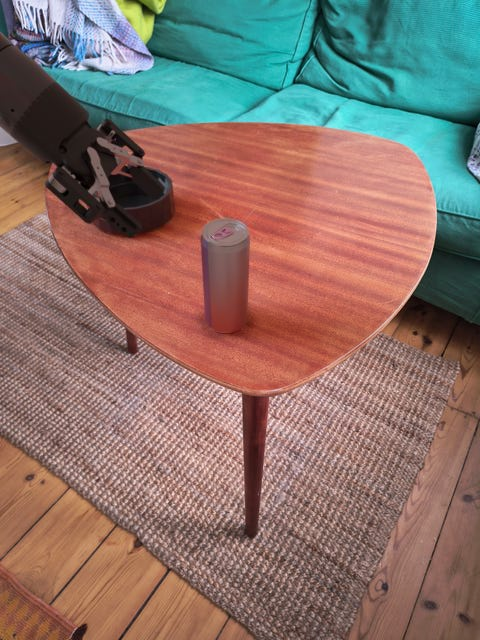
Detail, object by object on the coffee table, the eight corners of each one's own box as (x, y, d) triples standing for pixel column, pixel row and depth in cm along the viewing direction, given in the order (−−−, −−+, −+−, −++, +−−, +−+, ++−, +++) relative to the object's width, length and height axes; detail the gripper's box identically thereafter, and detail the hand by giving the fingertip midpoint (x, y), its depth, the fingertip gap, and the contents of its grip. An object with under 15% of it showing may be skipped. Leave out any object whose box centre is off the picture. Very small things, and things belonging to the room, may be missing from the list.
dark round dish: (88, 241, 79) (80, 212, 75) (93, 195, 90) (87, 168, 86) (177, 233, 81) (175, 205, 77) (172, 190, 92) (170, 163, 88)
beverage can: (196, 320, 66) (189, 231, 55) (225, 300, 69) (224, 211, 58) (226, 342, 63) (225, 251, 52) (256, 319, 66) (260, 230, 56)
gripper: (10, 108, 42) (148, 230, 49) (78, 60, 52) (185, 166, 59) (-21, 159, 47) (110, 264, 53) (47, 105, 56) (150, 199, 63)
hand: (149, 212), depth 56 cm, fingers open, 8 cm apart
